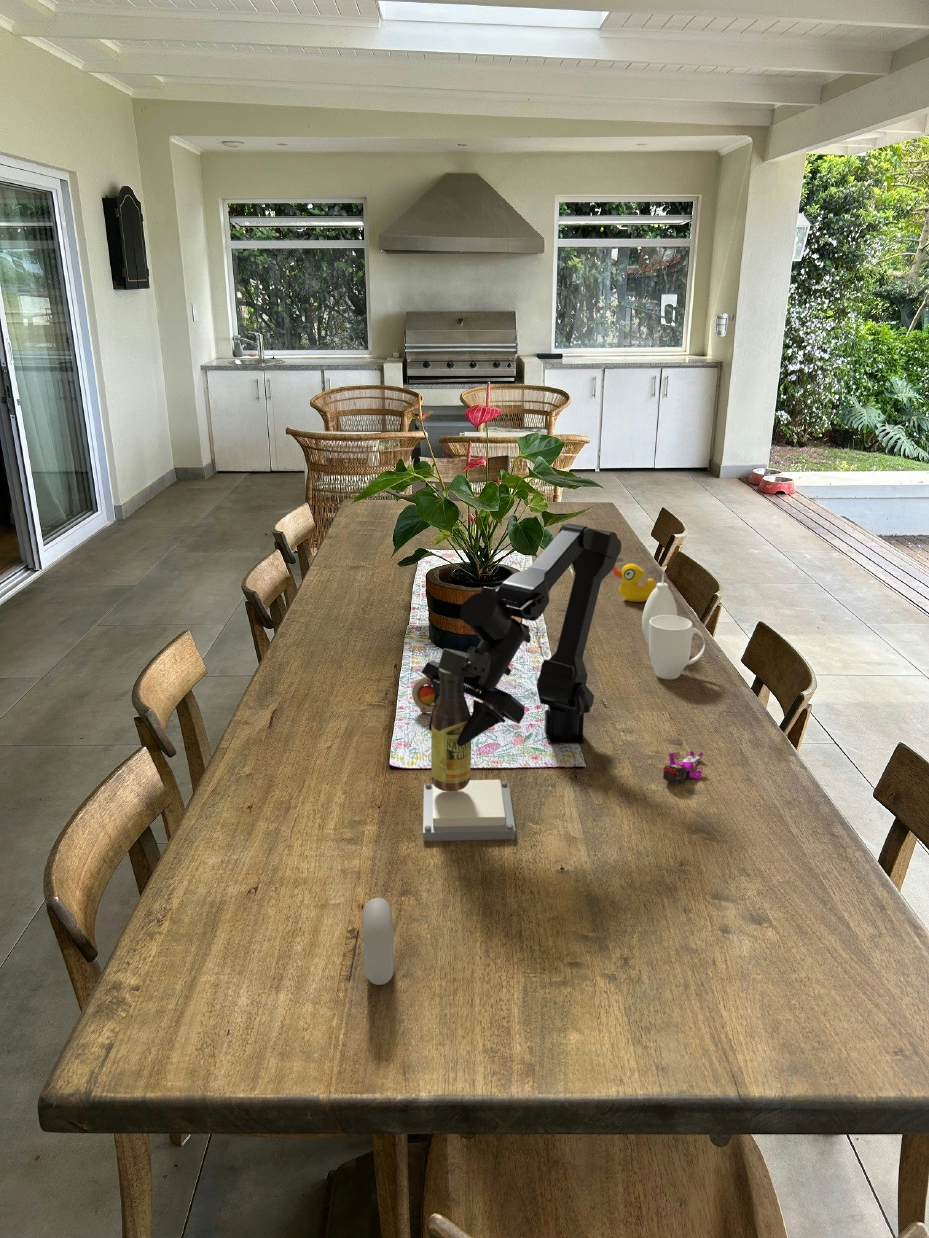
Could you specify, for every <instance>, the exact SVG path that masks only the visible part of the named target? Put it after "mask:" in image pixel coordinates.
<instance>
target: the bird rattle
mask: <svg viewBox="0 0 929 1238" xmlns="http://www.w3.org/2000/svg"><path fill="white" fill-rule="evenodd" d="M411 692H412V693H411V695H412V699H413V701H414V704H415V706H416V707H417V708H419V710H420V711H419V712H420V713H421V712H422V713H424V714H425V713H432V709H433V704H434V696H435V693H434V689H433V685H432V684H431V683H430V679H429V678H427V677H426V676H425V675H424V676H423V677H421V678H419V679H418V680H417V681H416V682H415V683H414V685H413V686H412V690H411ZM422 713H421V714H422Z"/></svg>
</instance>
